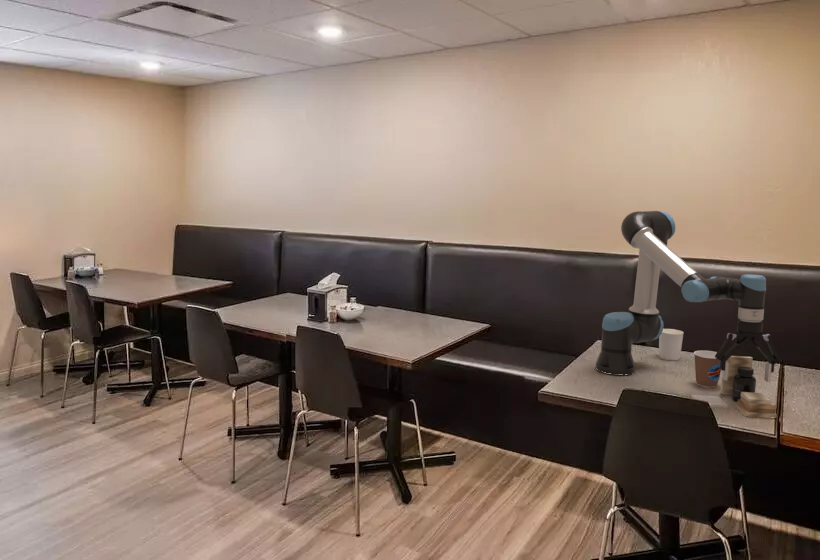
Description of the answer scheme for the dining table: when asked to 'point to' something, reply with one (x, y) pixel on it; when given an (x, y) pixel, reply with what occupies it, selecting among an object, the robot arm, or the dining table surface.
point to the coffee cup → (707, 368)
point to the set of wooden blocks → (749, 401)
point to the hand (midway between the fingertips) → (745, 380)
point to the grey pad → (712, 400)
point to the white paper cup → (670, 344)
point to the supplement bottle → (743, 382)
